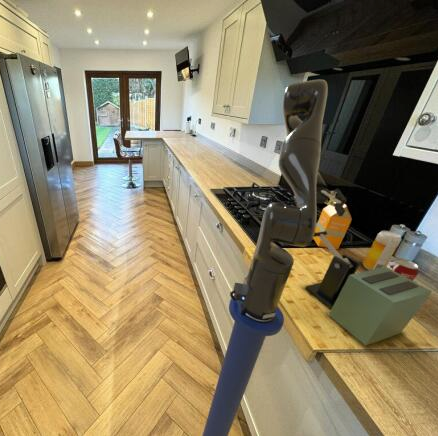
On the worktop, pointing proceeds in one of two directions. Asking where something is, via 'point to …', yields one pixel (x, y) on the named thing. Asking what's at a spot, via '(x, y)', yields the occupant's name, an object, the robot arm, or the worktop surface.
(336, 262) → the bracket
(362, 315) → the toaster
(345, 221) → the orange juice
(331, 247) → the lever
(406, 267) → the soda can
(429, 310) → the worktop surface
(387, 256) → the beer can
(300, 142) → the robot arm
